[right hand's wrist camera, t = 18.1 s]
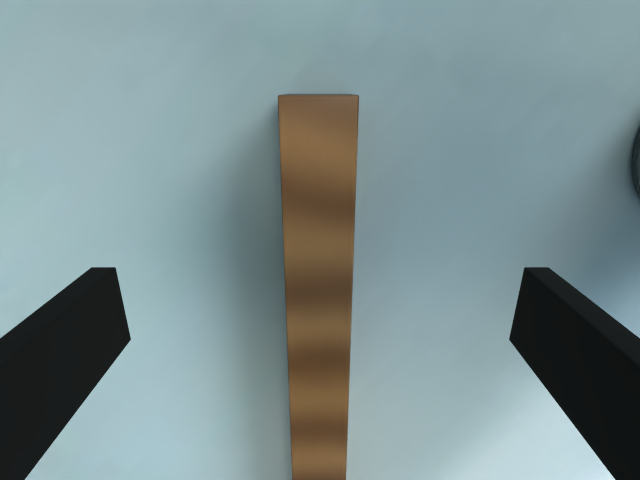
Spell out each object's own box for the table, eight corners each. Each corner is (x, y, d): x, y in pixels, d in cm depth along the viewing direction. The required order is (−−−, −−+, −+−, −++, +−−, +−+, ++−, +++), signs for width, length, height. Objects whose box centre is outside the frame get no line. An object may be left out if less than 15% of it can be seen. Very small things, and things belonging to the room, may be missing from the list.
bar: (286, 93, 32) (277, 95, 25) (350, 93, 32) (359, 95, 25) (300, 546, 53) (297, 612, 47) (338, 546, 53) (341, 612, 47)
